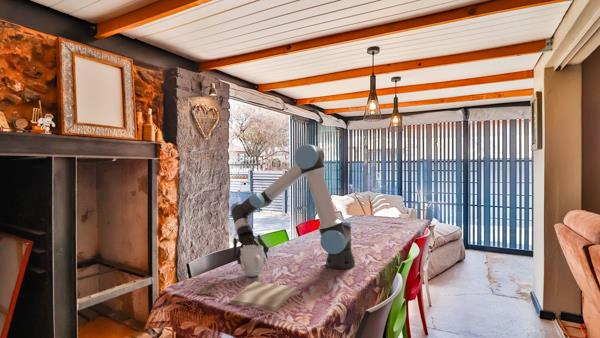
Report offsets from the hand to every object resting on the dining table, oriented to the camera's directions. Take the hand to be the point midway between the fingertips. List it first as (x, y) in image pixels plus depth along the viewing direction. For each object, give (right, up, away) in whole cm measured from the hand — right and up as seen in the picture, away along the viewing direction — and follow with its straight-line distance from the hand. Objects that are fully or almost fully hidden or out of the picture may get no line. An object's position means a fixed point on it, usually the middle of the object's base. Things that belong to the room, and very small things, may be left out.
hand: (255, 267), depth 152 cm
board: (+7, -5, -21) cm, 23 cm away
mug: (-1, -5, +3) cm, 5 cm away
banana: (-15, -7, -10) cm, 19 cm away
